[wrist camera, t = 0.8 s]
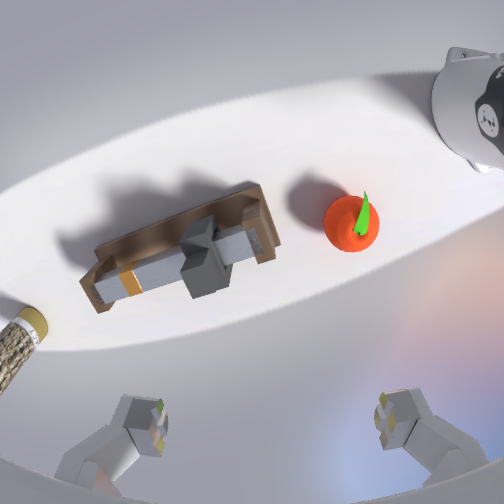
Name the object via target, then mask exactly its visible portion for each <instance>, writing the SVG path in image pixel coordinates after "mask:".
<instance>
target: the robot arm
mask: <svg viewBox="0 0 504 504" xmlns="http://www.w3.org/2000/svg"><path fill="white" fill-rule="evenodd" d="M462 54H463V56H464V58H463V57H462ZM432 112H433V117H434V121H435V124H436V127H437V129H438V132H439V134H440V135H441V137H442V139H443V140H444V142H445V143H446V144H447V145H448V147H449V148H450V149H451V150H453V151H454V152H455V153H456V154H458V155H460V156H462V157H464V158H466V159H467V160H469V161H470V163H471V164H472V166H473V167H474V168H475V169H476V170H477V171H478V172H479V173H487V172H488V171H490V170H491V169H493V168H499V169H503V170H504V53H502V54H500V55H499V54H495V53H493V54H491V53H486V52H481V51H476V50H471V49H465V48H459V47H452V48H450V49H449V51H448V54H447V59H446V64H445V66H444V68H443V69H442V70H441V72H440V73H439V75H438V76H437V78H436V80H435V83H434V86H433V90H432ZM379 400H380V404H379V405H378V406H377V407H376V410H375V415H374V420H375V425H376V428H377V429H378V430H379V431H380V432H382V433H381V435H380V437H379V438H380V441H381V444H382V447H383V450H389V449H395V448H400V447H403V448H404V449H405V450H406V451H407V452H408V453H409V454H410V455H412V456H413V457H414V458H415V459H416V460H417V461H418V462H419V463H420V464H421V465H423V466H424V467H425V468H426V469H427V470H428V471H429V472H431V473H432V474H431V475H430V476H429V477H428V479H427V480H426V481H425V482H424V484H423V486H424V487H422V488H418V489H415V490H411V491H407V492H403V493H399V494H395V495H391V496H387V497H382V498H378V499H373V500H368V501H362V502H357V503H351V504H504V456H503V457H501V458H499V459H497V460H495V461H493V462H490V463H488V460H487V458H486V456H485V454H484V452H483V450H482V448H481V446H480V444H479V442H478V440H476V439H474V438H473V437H471V436H469V435H468V434H466V433H464V432H463V431H461V430H460V429H458V428H456V427H455V426H453V425H452V424H450V423H448V422H447V421H445V420H443V419H442V418H440V417H439V416H437V415H435V416H433V414H432V412H431V410H430V408H429V406H428V404H427V402H426V400H425V398H424V396H423V394H422V392H421V390H420V388H419V387H413V388H407V389H400V390H395V391H389V392H383V393H382V394H381V395H380V398H379ZM163 407H164V404H163V401H162V399H157V398H149V397H141V396H133V395H125V394H124V395H123V396H122V397H121V398H120V401H119V403H118V406H117V408H116V411H115V413H114V415H113V418H112V420H111V423H110V425H105V426H104V427H102V428H101V429H99V430H98V431H97V432H95V433H94V434H92V435H91V436H89V437H88V438H86V439H85V440H84V441H82V442H80V443H79V444H78V445H76V446H75V447H73V448H72V449H70V450H69V451H67V452H66V453H64V455H63V458H62V460H61V462H60V464H59V467H58V469H57V471H56V474H55V476H54V477H51V476H48V475H45V474H43V473H40V472H38V471H35V470H33V469H30V468H28V467H25V466H23V465H21V464H18V463H16V462H14V461H11V460H9V459H7V458H5V457H3V456H1V455H0V504H156V503H150V502H144V501H139V500H134V499H128V498H124V497H121V493H120V492H119V490H118V489H117V488H116V487H115V486H114V484H113V482H114V481H115V480H116V479H117V478H118V477H119V476H120V475H121V474H122V473H123V472H124V471H125V470H126V469H127V468H128V467H130V466H131V465H132V463H134V462H135V461H136V460H137V459H138V458H139V457H140V455H146V456H154V457H161V456H162V452H163V447H164V442H163V439H162V438H163V437H164V436H166V435H167V431H168V416H167V413H166V412H165V411H164V410H163Z"/></svg>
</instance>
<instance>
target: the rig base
mask: <svg viewBox="0 0 504 504" xmlns="http://www.w3.org/2000/svg"><path fill="white" fill-rule="evenodd" d="M213 214H214V216H215V219H216V221H217V224H218V226H219V228H220V231H222V230H225V229H228V228H230V227H233V226H236V225H239V224H243V227H244V229H245V232H246V231H248V230H250V229H252V228H253V229H254V228H255V231H256V234H257V235H256V234H255V233H254V234H253V233H252V234H253V235H256V236H258V237H257V238H258V239H259V240H258V241H259V242H260V243H258V244H261V247H262V250H263V252H264V253H263V252H262V253H263V254H262V253H261V254H259V255H256V253H255V254H254V255H255V258H256V260H257V263H258V264H261V263H264V262H267V261H270V260H273V259H276V256H275V247H277V246H280V245H281V244H280V239H279V237H278V234H277V231H276V228H275V225H274V222H273V220H272V217H271V214H270V211H269V208H268V206H267V203H266V200H265V197H264V195H263V192H262V189H261V186H260V185H257V186H254V187H252V188H249V189H246V190H243V191H240V192H237V193H234V194H232V195H229V196H226V197H223V198H220V199H218V200H215V201H212V202H210V203H207V204H204V205H201V206H199V207H196V208H193V209H191V210H188V211H185V212H183V213H180V214H178V215H175V216H172V217H170V218H167V219H165V220H162V221H160V222H157V223H155V224H152V225H150V226H147V227H145V228H142V229H140V230H137V231H135V232H132V233H130V234H127V235H125V236H123V237H120V238H118V239H115V240H113V241H111V242H108V243H106V244H104V245H101V246H99V247H98V248H96V249H95V250H94V252H95V254H96V256H97V258H98V259H99V261H98V262H97V263H96V264H95V265H94V266H93V267H92V268H91V269H90V271H89V272H88V273H87V274H86V275H85V276H84V277H83V278H82V279H81V280H80V281H79V282H80V284H81V286H82V287H83V289H84V291H85V293H86V294H87V296H88V298H89V300H90V301H91V303H92V305H93V306H94V308H95V310H96V311H97V313H98V314H99V313H102V312H105V311H109V310H110V308H111V307H112V306H113V304H114V303H115V301H113V302H110V303H107V304H105V302H104V301H100V302H102V303H101V304H102V305H101V304H99V303H100V302H99V300H103V299H102V297H101V296H100V294H99V295H97V294H98V293H99V292H98V291H96V287H95V285H94V283H95V282H96V281H97V280H98V279H99V278H100V276H101V275H102V274H103V273H105V272H108V271H111V270H113V269H116V268H119V267H121V266H124V265H126V264H128V263H131V262H133V261H136V260H139V259H143V258H146V257H148V256H151V255H154V254H157V253H160V252H162V251H165V250H168V249H171V248H173V247H176V246H179V240H180V239H181V237H182V236H183V234H184V232H185V231H186V229H187V228H188V226H189V225H190V223H191V222H194V221H197V220H199V219H202V218H205V217H208V216H210V215H213ZM252 232H253V231H252ZM247 233H248V232H247ZM248 234H249V233H248ZM249 236H250V235H249ZM249 238H250V237H249ZM249 238H248V239H249ZM251 238H252V237H251ZM255 238H256V237H255ZM257 238H256V239H257ZM252 239H253V238H252ZM252 239H250V241H249V242H253V243H255V241H251V240H252ZM253 240H254V239H253ZM253 243H252V246H251V247H253ZM258 244H256V245H257V247H258V248H260V246H258ZM253 248H254V247H253ZM253 248H252V250H254V249H253ZM258 248H255V249H257V250H261V249H258ZM254 251H255V250H254ZM257 252H258V251H257ZM258 253H260V252H258ZM93 285H94V287H95V288H94V287H93V288H91V286H93ZM90 289H91V290H90ZM92 289H93V290H94V291H95V292H94V293H93V291H92ZM95 293H97V294H95ZM93 294H94V295H93ZM98 296H99V297H100V298H97V297H98ZM96 298H97V299H99V300H98V302H99V303H98V302H97V299H96ZM103 303H104V305H103Z"/></svg>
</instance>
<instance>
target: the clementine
mask: <svg viewBox="0 0 504 504" xmlns="http://www.w3.org/2000/svg"><path fill="white" fill-rule="evenodd" d="M364 195H365V196H364V199H363V198H360V197H358V196H344V197H342V198H339V199H337V200H336V201H335V202H333V203H332V204H331V205H330V207H329V208H328V209H327V212H326V214H325V218H324V228H325V233H326V235H327V238H328V239H329V241H330V242H331V243H332V244H333V245H334V246H335V247H337V248H338V249H339V250H342V251H345V252H359V251H362V250H364V249H366V248H368V247H369V246H370V245H371V244H372V243H373V242H374V240H375V239H376V237H377V235H378V230H379V217H378V214H377V212H376V210H375V209H374V207H373V206H372V204H371V203H369V202H368V198H367V195H366V193H365V191H364Z"/></svg>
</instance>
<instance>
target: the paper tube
mask: <svg viewBox="0 0 504 504" xmlns="http://www.w3.org/2000/svg"><path fill="white" fill-rule="evenodd" d="M47 333H48V326H47V322H46V320H45V319H44V317H43V316H42V315H41V314H40V313H39V312H38V311H37V310H35V309H33V308H29V307H27V308H24V309H23V310H22V311H21V312H20V313H19V314H18V315H17V316H16V317H15V318H14V319H13V320H12V321H11V322H10V323H9V324H8V325H7V326H6V327H5V328H4V329H3V330H2V331H1V332H0V396H1V395H2V393H3V392H4V390H5V389H6V388H7V386H8V385H9V384H10V382H11V381H12V379H13V378H14V377H15V375H16V374H17V373H18V371H19V370H20V368H21V367H22V366H23V365H24V363H25V362H26V361H27V359H28V358H29V357H30V355H31V354H32V353H33V352H34V350H35V349H36V348H37V346H38V345H39V344H40V342H41V341H42V340H43V339H44V337H45V336H46V335H47Z"/></svg>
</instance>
